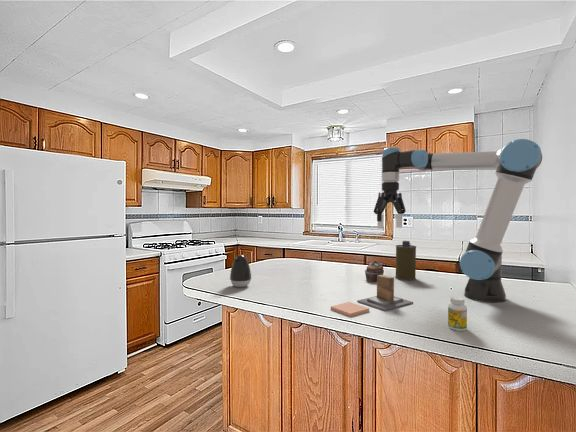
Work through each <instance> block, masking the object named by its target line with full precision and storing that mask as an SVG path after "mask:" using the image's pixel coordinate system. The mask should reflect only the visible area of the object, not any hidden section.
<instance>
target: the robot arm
mask: <svg viewBox="0 0 576 432" xmlns="http://www.w3.org/2000/svg"><path fill="white" fill-rule="evenodd" d="M542 153H543V152H542V150H541V147H540V145H538V144H537V143H536V142H535V141H533V140H530V139H527V138H517V139H514V140H511V141H510V142H508V143H506V145H504V146H503V148H500V149H499V150H495V151H467V152H465V151H463V152H440V153H439V152H438V153H435V152H433V153H428V152H427V150H426V149H419V148H418V149H411V150H404V151H401V150H400V148H399V147H386V148H384V149H382V154H381V155H382V156H381V167H382V168H381V182H382V183H381V190H382V191H380V192H378V197H377V200H376V203H375V206H374V208H373V213H374V215H376V221H377V226H376V227H377V228H376V229H377V230H378V229H379V230H380V229H381V230H384V214H383V213H384V211H385V210H386V208H387V206H388V204H390V203H391V204H392V205H393V207H394V209H395V211H396V212H397V213H396V214H395V215H396V216H395V228H403V214H406V211H407V210H406V207H405V204H404V200H403V197H402V195H403V194H402V192H398V191H399V189H400V183H399V181H400V169H410V168H412V169H414V170H415V169H416V170H418V171H421V172H422V171H432V170H433V171H438V170H439V171H441V170H442V171H444V170H445V171H448V170H449V171H450V170H451V171H453V170H454V171H462V170H464V171H470V170H472V171H486V170H487V171H488V170H489V171H495V173H494V174H495V175H496V177H497V180H496V182H495V186H494V189H493V191H492V194H491V196H490V199H489V201H488V203H487V207H486V209H485V212H484V214H483V217H482V220H481V222H480V225H479V228H478V230H477V232H476V235H475V237H474V238H472V239H470V240H469V242H468V245H467V246H466V249H465V252H464V253H463V254H462V255H461V256H460V260H459V267H460V270H461V272H462V273H463V274H464V275H465V276H466V277H468V280H467V283H466V285H465V288H464V292H463V293H464V294H463V295H464V296H465V297H466V298H468V299H471V300H474V301H479V302H483V303H484V302H486V303H503V302H506V299H507V295H506V294H507V293H506V291H505V288H504V285H503V282H502V258H503V257H502V255H503V251H504V250H503V248H502V246H501V244H502V241H503V239H504V237H505V234H506V232H507V229H508V227H509V225H510V223H511V219H512V217H513V215H514V212H515V210H516V207H517V205H518V202H519V199H520V197H521V194H522V193H523V190H524V187H525V185H526V184H528V183H530V182H532V181H533V178H534V176H535V173H536V170H537V169H538V168H539V167H540V166H541V163H542V161H543V154H542Z"/></svg>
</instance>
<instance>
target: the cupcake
mask: <svg viewBox="0 0 576 432" xmlns="http://www.w3.org/2000/svg"><path fill="white" fill-rule="evenodd" d="M384 272H385V271H384V266H383V262H381V261H375V260H373V261H371V262H370V263H369V264H368V265H367V266H366V269H365V270H364V273H365V279H366V281H367V282H369V283H370V282H371V283H377V276H378V275H384Z"/></svg>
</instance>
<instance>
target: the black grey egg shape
mask: <svg viewBox="0 0 576 432" xmlns="http://www.w3.org/2000/svg"><path fill="white" fill-rule="evenodd" d="M229 274H230V275H229V280H230V282H231V284H232V285H233V286H234V287H235V288H246V287H247V286H249V285H250V284H251V280H252V271H251V266H250V264H249V261H248V259H247V257H246V256H245V255H243V254H239V255H237V256H236V257H234V260H233V262H232V264H231V269H230V273H229Z"/></svg>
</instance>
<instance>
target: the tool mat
mask: <svg viewBox="0 0 576 432" xmlns="http://www.w3.org/2000/svg"><path fill="white" fill-rule="evenodd" d="M373 297H377V295H375V296H371V297H366V298H363V299H362V298H361V299H358V300H357V303H358V304H359V303H360V304H361V305H362V304H363V305H366V306H368V307H372V308H374V309H378V310H380V311H383V312H387V311H391V310H394V309H397V308H402V307H406V306H409V305H412V304H414V301H411V300H407V299H404V298H402V299H403V301H402V302H398V303H394V304H390V305H386V306H381V305H378V304H374V303H371V302H368V301H367V299H368V298H373Z"/></svg>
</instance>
